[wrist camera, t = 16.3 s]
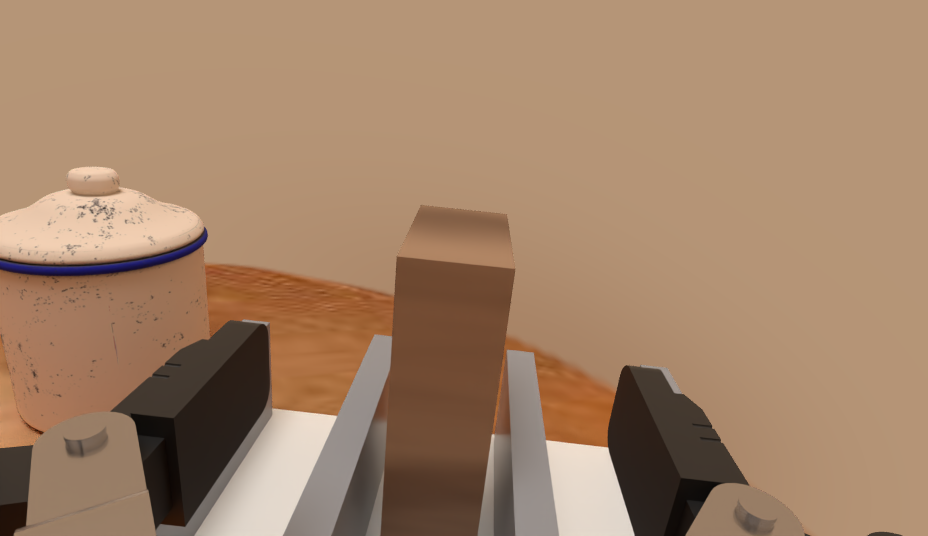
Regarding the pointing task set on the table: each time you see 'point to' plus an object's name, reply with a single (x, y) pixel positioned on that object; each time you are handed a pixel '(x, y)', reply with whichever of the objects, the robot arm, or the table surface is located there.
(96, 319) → the teacup with lid
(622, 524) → the rack
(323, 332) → the table surface
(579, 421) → the table surface
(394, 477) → the walnut board
